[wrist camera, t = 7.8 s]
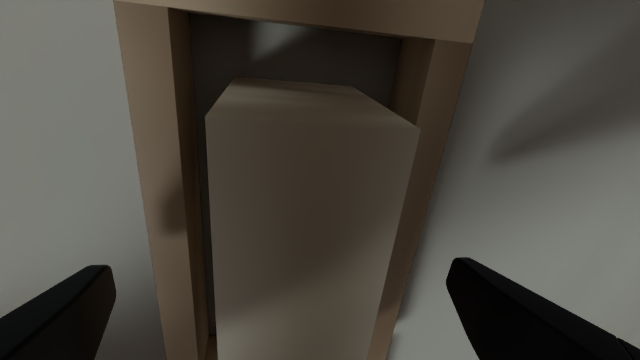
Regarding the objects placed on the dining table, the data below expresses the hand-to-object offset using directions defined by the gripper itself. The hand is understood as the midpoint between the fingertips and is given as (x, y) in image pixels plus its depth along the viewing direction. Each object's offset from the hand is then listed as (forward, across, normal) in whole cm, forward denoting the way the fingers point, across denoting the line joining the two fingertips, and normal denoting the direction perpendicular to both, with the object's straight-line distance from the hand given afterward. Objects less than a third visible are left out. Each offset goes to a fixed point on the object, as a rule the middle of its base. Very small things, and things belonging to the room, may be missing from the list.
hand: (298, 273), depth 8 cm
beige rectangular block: (+3, 0, 0) cm, 3 cm away
